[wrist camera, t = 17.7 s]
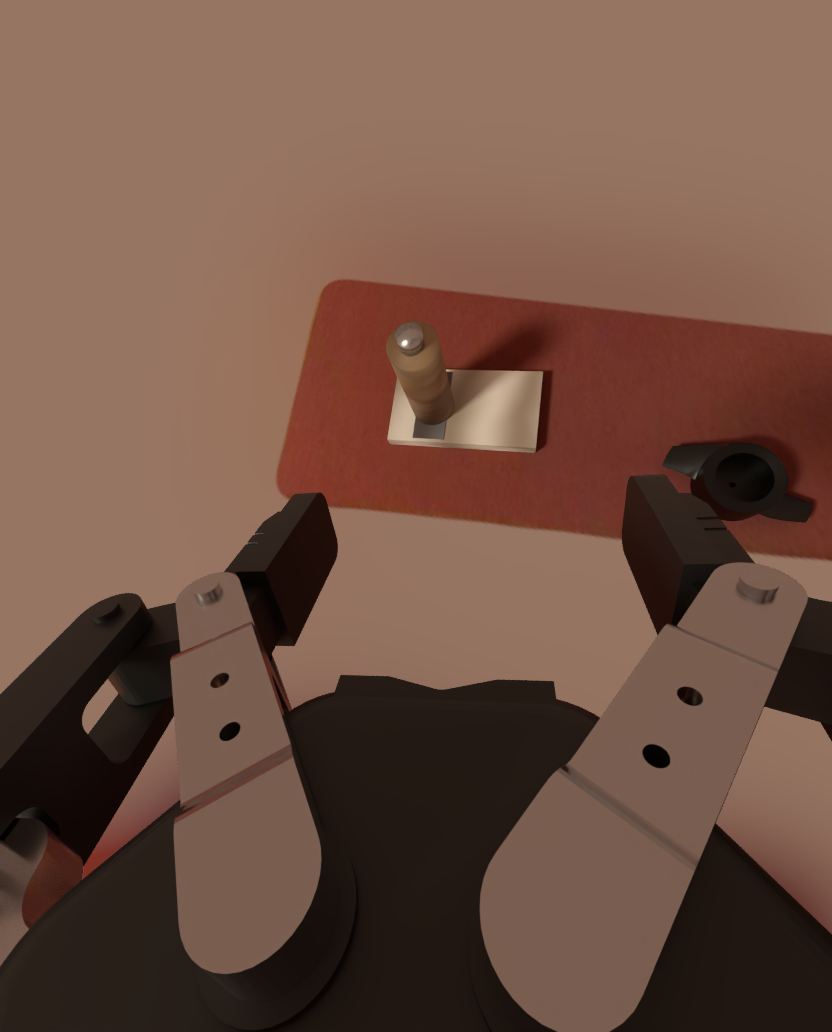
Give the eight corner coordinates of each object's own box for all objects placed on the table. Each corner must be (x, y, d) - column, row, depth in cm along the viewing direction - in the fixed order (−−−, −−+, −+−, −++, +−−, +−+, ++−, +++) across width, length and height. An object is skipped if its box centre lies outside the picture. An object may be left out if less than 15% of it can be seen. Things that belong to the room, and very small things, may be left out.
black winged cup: (732, 419, 39) (750, 403, 36) (811, 517, 36) (836, 509, 33) (651, 460, 40) (661, 448, 37) (721, 561, 37) (739, 556, 34)
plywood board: (542, 378, 43) (543, 370, 42) (535, 452, 42) (536, 447, 40) (401, 374, 46) (398, 367, 45) (390, 443, 45) (386, 438, 43)
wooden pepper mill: (455, 386, 43) (437, 308, 33) (452, 424, 42) (433, 358, 32) (414, 387, 44) (384, 312, 33) (411, 425, 43) (379, 360, 33)
